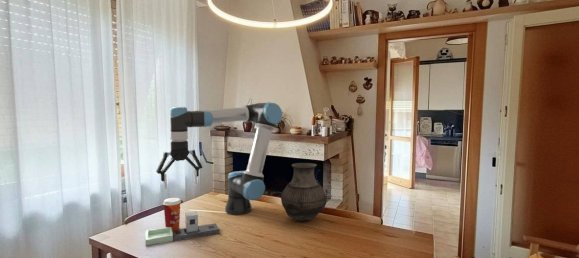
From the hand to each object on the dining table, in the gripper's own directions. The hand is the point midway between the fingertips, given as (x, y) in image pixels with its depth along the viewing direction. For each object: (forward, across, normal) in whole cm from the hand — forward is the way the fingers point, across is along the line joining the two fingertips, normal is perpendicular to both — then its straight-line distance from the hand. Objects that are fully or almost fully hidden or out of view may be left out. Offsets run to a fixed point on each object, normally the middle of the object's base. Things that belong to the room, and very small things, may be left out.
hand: (180, 185), depth 136 cm
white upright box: (+23, -4, +3) cm, 24 cm away
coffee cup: (+24, +2, -8) cm, 25 cm away
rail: (+23, -6, +3) cm, 24 cm away
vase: (+24, -59, +18) cm, 66 cm away
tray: (+23, +10, -1) cm, 25 cm away
